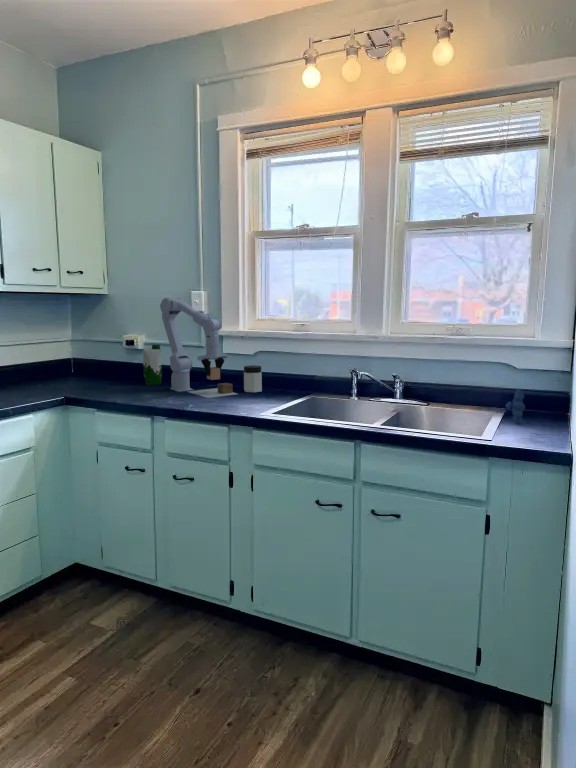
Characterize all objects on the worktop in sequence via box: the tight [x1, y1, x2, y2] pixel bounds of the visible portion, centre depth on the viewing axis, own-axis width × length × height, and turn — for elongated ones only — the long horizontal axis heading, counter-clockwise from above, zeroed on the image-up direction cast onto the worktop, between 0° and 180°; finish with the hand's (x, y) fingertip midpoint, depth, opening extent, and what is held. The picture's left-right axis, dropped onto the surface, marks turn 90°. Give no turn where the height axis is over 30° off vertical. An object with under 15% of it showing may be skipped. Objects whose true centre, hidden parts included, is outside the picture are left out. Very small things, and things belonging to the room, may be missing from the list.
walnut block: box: [217, 382, 234, 394], centre depth 250 cm, size 5×5×4 cm
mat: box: [187, 387, 238, 399], centre depth 250 cm, size 20×16×1 cm
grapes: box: [505, 388, 526, 425], centre depth 191 cm, size 12×7×12 cm, turn 156°
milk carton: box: [142, 344, 163, 386], centre depth 277 cm, size 9×9×20 cm
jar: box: [243, 364, 263, 393], centre depth 254 cm, size 9×8×12 cm
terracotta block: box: [206, 366, 221, 381], centre depth 247 cm, size 4×4×5 cm
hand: (213, 375), depth 248 cm, fingers closed on terracotta block, 4 cm apart
